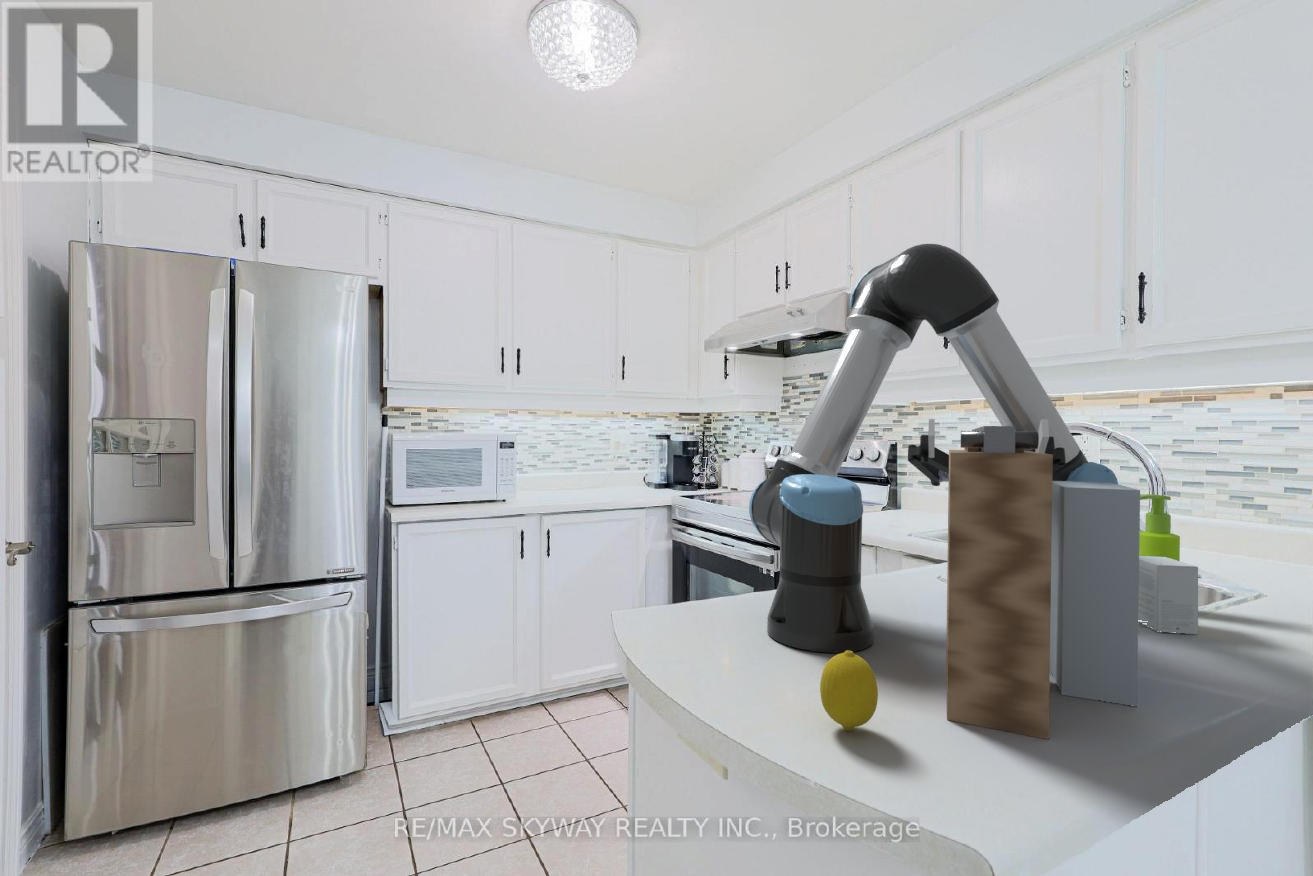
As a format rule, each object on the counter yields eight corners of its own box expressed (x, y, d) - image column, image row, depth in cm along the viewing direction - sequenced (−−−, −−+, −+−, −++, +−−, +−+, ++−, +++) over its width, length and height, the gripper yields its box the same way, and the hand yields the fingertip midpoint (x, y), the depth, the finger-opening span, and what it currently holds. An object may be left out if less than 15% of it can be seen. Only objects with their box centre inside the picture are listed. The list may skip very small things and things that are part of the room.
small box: (1198, 636, 91) (1200, 566, 91) (1156, 633, 92) (1157, 564, 92) (1165, 620, 99) (1166, 556, 99) (1127, 617, 100) (1128, 554, 100)
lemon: (811, 718, 63) (812, 642, 63) (862, 716, 63) (864, 641, 63) (831, 745, 57) (832, 661, 57) (887, 743, 58) (888, 660, 58)
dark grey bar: (961, 452, 63) (961, 426, 63) (955, 448, 89) (956, 429, 89) (1039, 454, 60) (1039, 426, 60) (1010, 449, 86) (1011, 429, 85)
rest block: (1061, 694, 69) (1064, 487, 69) (1045, 660, 80) (1048, 480, 80) (1137, 707, 66) (1140, 490, 66) (1109, 669, 77) (1112, 482, 77)
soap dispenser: (1121, 603, 109) (1122, 492, 109) (1163, 605, 108) (1165, 493, 108) (1142, 612, 103) (1144, 496, 103) (1187, 614, 102) (1189, 497, 102)
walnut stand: (946, 719, 63) (950, 442, 63) (946, 662, 79) (949, 442, 79) (1048, 739, 59) (1052, 444, 59) (1025, 674, 75) (1029, 443, 75)
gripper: (1070, 521, 92) (1100, 454, 75) (895, 510, 102) (887, 449, 86) (1066, 477, 95) (1094, 403, 78) (897, 471, 106) (889, 405, 89)
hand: (986, 427), depth 82 cm, fingers open, 13 cm apart
